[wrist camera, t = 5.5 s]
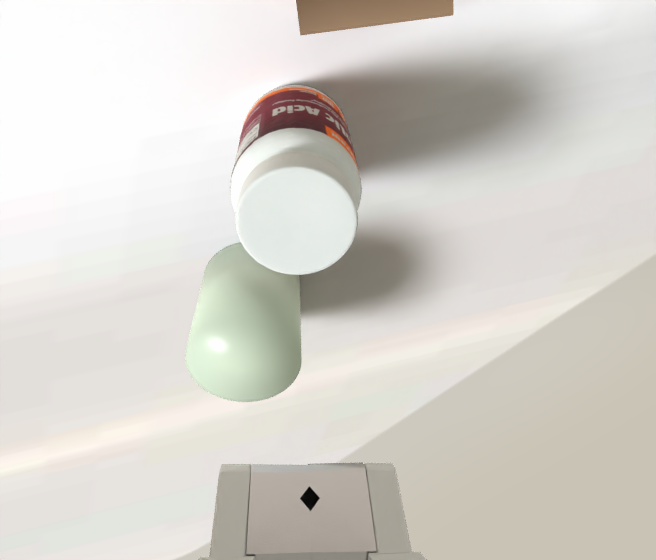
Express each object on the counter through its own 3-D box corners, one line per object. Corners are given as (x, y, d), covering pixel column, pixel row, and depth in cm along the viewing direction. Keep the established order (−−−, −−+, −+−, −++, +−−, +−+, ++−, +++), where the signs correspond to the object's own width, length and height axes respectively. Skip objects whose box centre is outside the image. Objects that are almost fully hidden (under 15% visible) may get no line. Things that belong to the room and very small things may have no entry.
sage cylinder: (200, 240, 28) (180, 314, 23) (301, 243, 28) (303, 316, 23) (206, 320, 31) (190, 401, 26) (298, 321, 31) (299, 401, 26)
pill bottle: (366, 109, 25) (396, 190, 18) (320, 200, 27) (331, 302, 20) (265, 62, 24) (255, 130, 17) (226, 161, 26) (203, 257, 19)
